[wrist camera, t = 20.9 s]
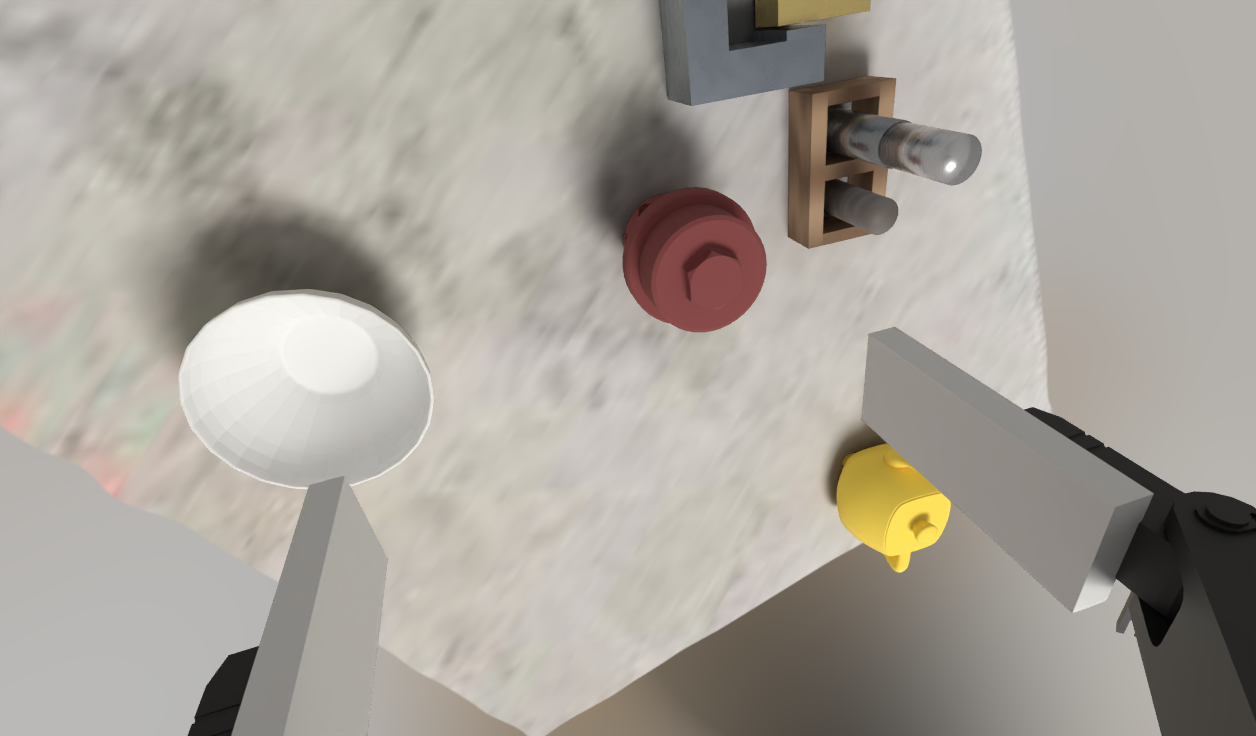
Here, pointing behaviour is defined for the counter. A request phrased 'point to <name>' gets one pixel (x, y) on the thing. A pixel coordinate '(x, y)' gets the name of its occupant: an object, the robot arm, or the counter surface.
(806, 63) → the socket block
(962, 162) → the grey cylindrical peg
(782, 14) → the bar
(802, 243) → the frame
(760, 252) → the mechanical component
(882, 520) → the teapot
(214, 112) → the counter surface
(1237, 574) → the robot arm
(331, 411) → the bowl
